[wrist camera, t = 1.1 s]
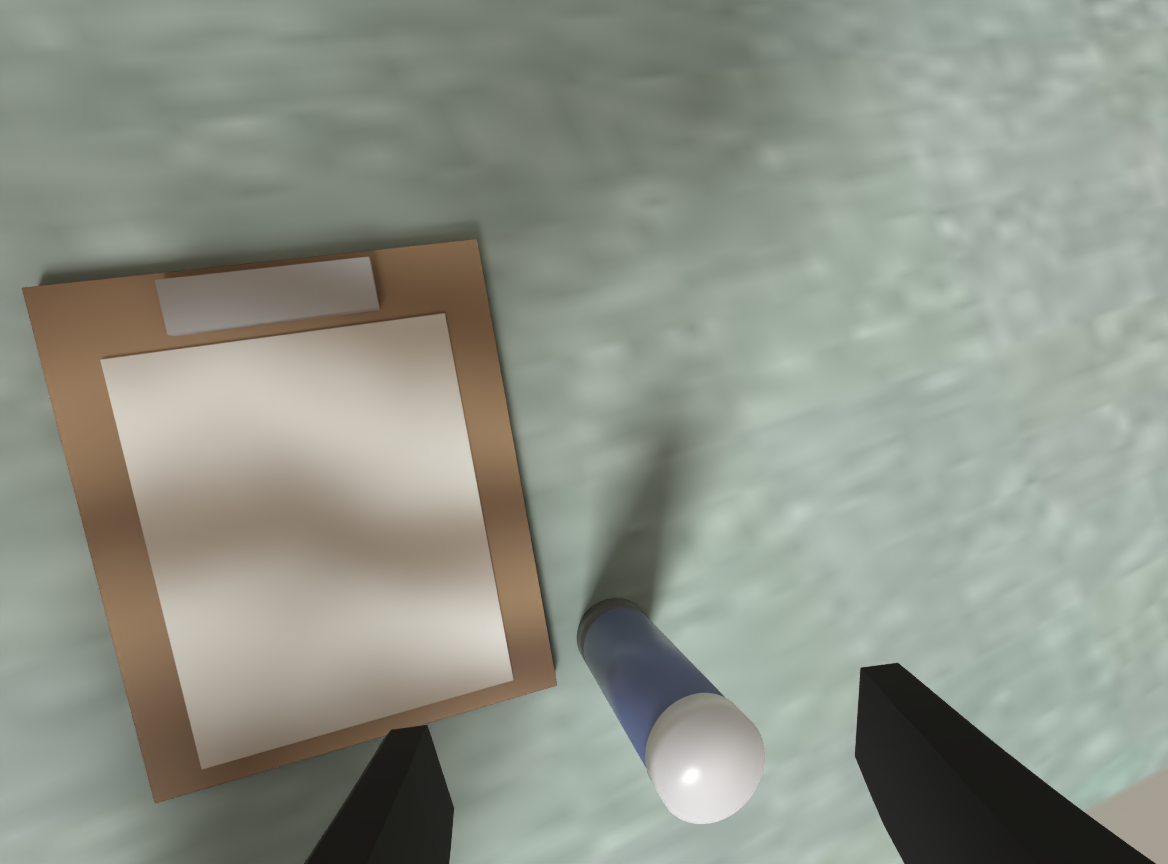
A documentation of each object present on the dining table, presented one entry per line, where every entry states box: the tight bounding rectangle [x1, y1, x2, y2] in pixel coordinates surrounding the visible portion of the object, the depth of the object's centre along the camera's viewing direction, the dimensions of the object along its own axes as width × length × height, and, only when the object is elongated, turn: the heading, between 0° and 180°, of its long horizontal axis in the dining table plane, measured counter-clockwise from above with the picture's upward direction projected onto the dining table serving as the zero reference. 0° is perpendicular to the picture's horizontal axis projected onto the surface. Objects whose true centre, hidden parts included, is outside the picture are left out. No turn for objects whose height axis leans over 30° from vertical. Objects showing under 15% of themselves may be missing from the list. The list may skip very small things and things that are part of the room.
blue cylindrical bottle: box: [577, 598, 765, 824], centre depth 18 cm, size 3×3×8 cm
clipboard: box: [22, 239, 557, 803], centre depth 19 cm, size 16×13×1 cm
